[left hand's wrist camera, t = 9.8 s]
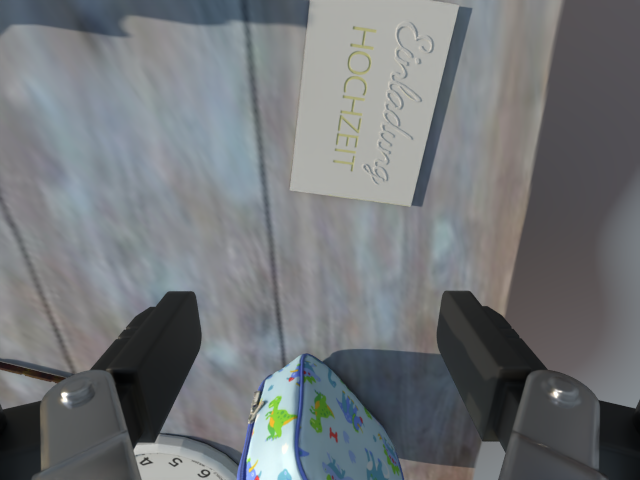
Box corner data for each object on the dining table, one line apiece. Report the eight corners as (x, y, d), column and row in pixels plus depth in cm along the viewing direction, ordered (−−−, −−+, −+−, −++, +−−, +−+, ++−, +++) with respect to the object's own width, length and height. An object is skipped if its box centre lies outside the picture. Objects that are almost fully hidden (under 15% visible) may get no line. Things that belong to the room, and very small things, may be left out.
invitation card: (311, -20, 34) (459, 4, 35) (312, -19, 35) (458, 5, 35) (289, 190, 42) (410, 206, 43) (290, 189, 42) (410, 205, 43)
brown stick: (-14, 360, 52) (-20, 364, 51) (-14, 357, 52) (-20, 362, 51) (89, 385, 54) (85, 390, 53) (89, 383, 54) (85, 388, 53)
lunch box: (249, 368, 53) (207, 525, 33) (305, 333, 50) (296, 480, 31) (347, 463, 60) (360, 636, 41) (400, 437, 58) (441, 607, 39)
